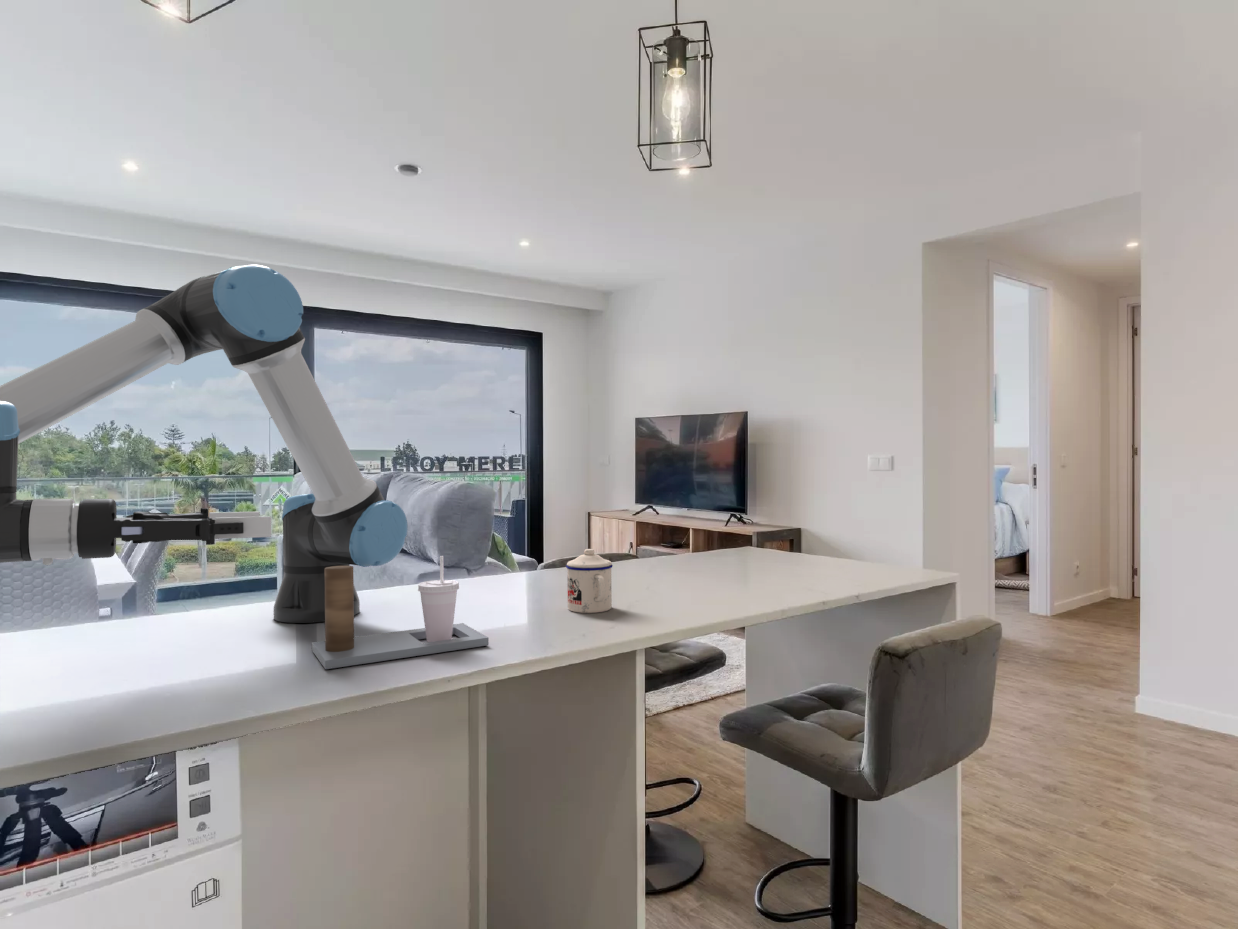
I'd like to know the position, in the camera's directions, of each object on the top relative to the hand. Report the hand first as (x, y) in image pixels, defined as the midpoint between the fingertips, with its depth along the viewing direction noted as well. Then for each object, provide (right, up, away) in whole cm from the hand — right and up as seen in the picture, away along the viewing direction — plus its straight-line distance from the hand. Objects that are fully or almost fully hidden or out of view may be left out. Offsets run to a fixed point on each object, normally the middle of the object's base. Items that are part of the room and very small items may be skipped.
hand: (265, 523), depth 102 cm
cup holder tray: (+16, -20, +10) cm, 28 cm away
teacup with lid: (+45, -20, +38) cm, 62 cm away
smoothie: (+21, -20, +13) cm, 32 cm away
